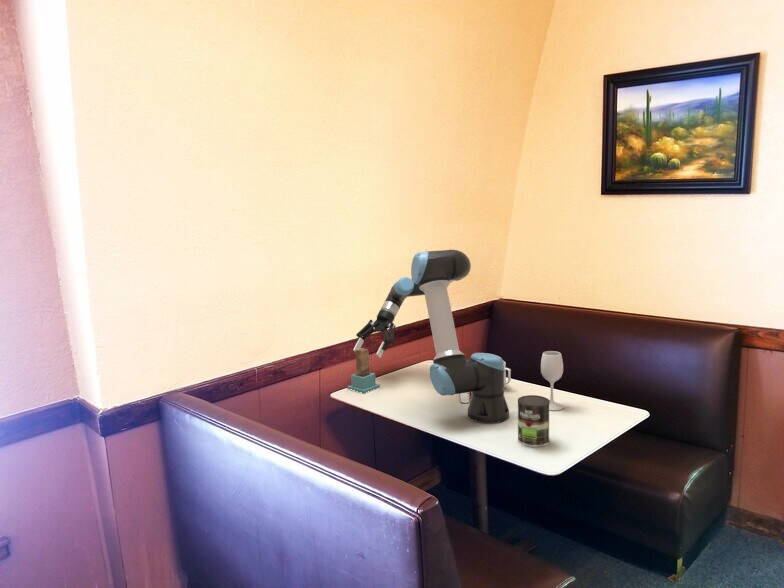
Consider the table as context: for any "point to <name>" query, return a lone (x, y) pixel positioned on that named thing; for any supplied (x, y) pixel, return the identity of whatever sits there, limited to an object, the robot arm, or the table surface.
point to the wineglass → (552, 373)
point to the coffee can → (533, 420)
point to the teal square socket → (363, 383)
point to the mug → (505, 374)
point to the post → (362, 362)
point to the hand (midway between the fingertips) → (366, 353)
